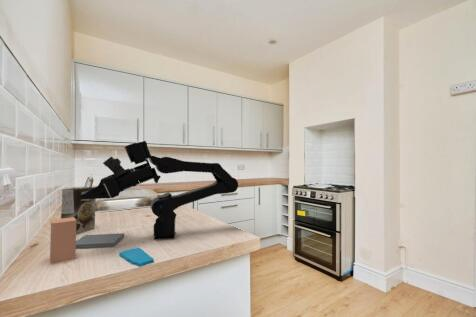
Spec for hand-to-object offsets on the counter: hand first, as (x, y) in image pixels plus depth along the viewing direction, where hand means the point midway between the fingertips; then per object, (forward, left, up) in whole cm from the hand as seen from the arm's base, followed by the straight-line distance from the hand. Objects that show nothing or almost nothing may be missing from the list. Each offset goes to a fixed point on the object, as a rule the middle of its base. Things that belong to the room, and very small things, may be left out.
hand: (83, 195), depth 69 cm
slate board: (-3, -3, -15) cm, 16 cm away
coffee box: (+10, -18, -16) cm, 26 cm away
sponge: (-18, +12, -16) cm, 27 cm away
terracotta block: (+1, +9, -15) cm, 18 cm away
